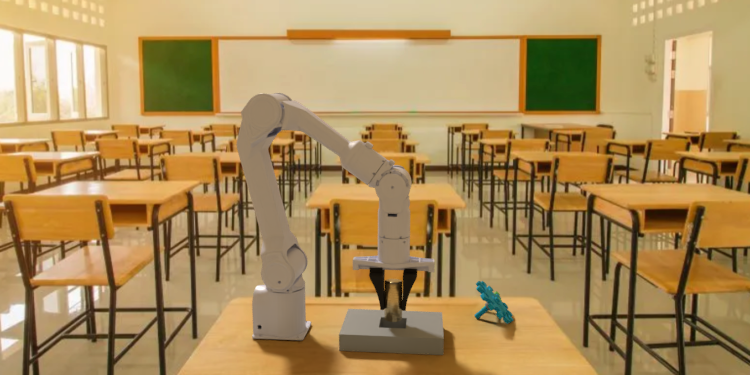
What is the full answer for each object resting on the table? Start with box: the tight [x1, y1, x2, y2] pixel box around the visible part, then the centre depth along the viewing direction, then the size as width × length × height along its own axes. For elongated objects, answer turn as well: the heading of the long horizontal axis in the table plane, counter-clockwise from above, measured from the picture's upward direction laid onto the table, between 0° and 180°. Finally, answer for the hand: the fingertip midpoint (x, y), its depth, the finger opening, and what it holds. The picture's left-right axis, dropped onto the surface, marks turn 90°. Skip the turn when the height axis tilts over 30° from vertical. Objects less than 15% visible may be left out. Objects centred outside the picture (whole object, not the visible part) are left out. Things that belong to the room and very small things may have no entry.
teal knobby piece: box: [474, 280, 514, 325], centre depth 116 cm, size 11×6×10 cm
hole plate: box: [338, 308, 445, 356], centre depth 107 cm, size 18×12×3 cm, turn 85°
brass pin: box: [384, 278, 403, 322], centre depth 106 cm, size 3×3×7 cm
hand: (393, 308), depth 106 cm, fingers closed on brass pin, 3 cm apart
